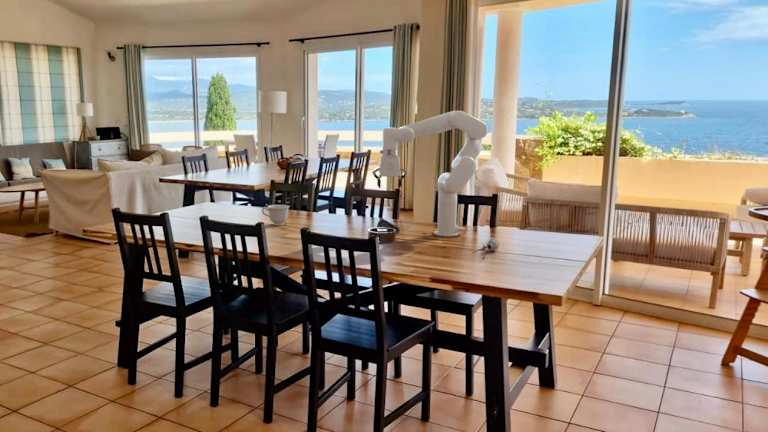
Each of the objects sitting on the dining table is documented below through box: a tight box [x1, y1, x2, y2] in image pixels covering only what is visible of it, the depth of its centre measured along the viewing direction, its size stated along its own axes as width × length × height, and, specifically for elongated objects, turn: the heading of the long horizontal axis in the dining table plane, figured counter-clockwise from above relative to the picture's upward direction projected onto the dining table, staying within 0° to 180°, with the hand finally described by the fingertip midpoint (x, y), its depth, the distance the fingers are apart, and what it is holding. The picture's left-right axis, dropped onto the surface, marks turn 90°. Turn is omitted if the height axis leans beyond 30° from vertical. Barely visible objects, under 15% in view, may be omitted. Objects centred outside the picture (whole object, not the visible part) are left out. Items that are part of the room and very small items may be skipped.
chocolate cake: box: [376, 217, 401, 234], centre depth 300 cm, size 10×7×12 cm
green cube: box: [377, 229, 387, 233], centre depth 279 cm, size 4×4×4 cm
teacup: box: [261, 204, 290, 226], centre depth 314 cm, size 12×15×10 cm
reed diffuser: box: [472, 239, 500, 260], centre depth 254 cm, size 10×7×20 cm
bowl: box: [367, 227, 397, 244], centre depth 279 cm, size 13×13×5 cm
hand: (389, 187), depth 285 cm, fingers open, 9 cm apart
